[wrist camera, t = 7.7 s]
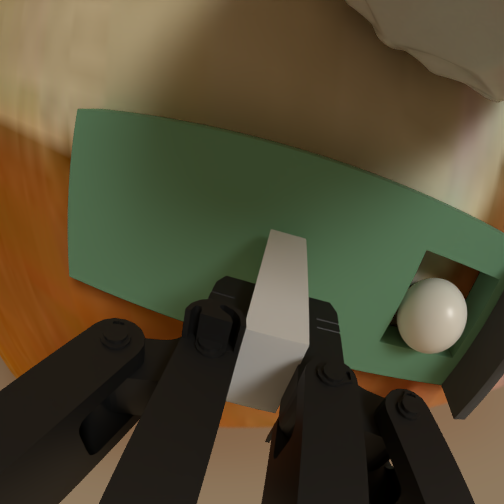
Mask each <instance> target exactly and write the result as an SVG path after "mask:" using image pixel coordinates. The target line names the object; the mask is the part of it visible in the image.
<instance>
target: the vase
mask: <svg viewBox="0 0 504 504" xmlns="http://www.w3.org/2000/svg"><path fill="white" fill-rule="evenodd" d="M345 1H346V3H347V4H348V5H349V6H351V7H352V8H354V9H355V10H356V11H358V12H359V13H360V14H361V15H362V16H364V17H365V18H366V19H367V20H368V21H369V22H370V23H371V24H372V25H373V28H374V31H375V33H376V35H377V36H378V38H379V40H381V41H382V42H383V43H384V44H385V45H387V46H388V47H390V48H393V49H396V50H403V51H406V52H407V53H409V54H410V55H412V56H413V57H415V58H416V59H417V60H418V61H419V62H421V63H422V64H423V65H424V66H425V67H426V68H427V69H428V71H430V72H432V73H433V74H435V75H439V76H443V77H446V78H449V79H453V80H456V81H459V82H462V83H465V84H466V85H468V86H469V87H470V88H472V89H473V90H475V91H476V92H478V93H479V94H480V95H482V96H483V97H485V98H487V99H489V100H492V101H495V102H500V101H504V0H345Z"/></svg>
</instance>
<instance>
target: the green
mask: <svg viewBox="0 0 504 504" xmlns="http://www.w3.org/2000/svg"><path fill="white" fill-rule="evenodd" d="M271 229H273V230H276V231H280V232H284V233H287V234H291V235H294V236H298V237H301V238H305V239H306V244H307V267H308V296H309V297H311V298H314V299H318V300H322V301H326V302H330V303H331V305H332V306H333V308H334V309H335V310H336V312H337V315H338V321H339V324H338V325H339V328H340V333H339V334H340V335H341V342H342V350H343V357H344V364H346V365H347V366H349V367H350V369H354V370H359V371H364V372H369V373H374V374H379V375H384V376H389V377H395V378H400V379H406V380H412V381H418V382H425V383H432V384H439V385H442V388H443V391H444V393H445V396H446V399H447V401H448V404H449V407H450V410H451V413H452V416H453V418H454V419H465V418H466V417H467V416H468V415H469V414H470V413H471V412H472V411H473V410H474V409H475V408H476V407H477V405H478V404H479V403H480V402H481V401H482V400H483V399H484V397H485V396H486V395H487V394H488V393H489V392H490V390H491V389H492V388H493V387H494V386H495V384H496V383H497V382H498V381H499V379H500V378H501V377H502V375H503V374H504V233H503V232H501V231H499V230H498V229H496V228H494V227H492V226H490V225H488V224H486V223H484V222H483V221H481V220H479V219H477V218H475V217H473V216H471V215H469V214H467V213H465V212H463V211H461V210H458V209H456V208H454V207H452V206H450V205H448V204H446V203H444V202H441V201H439V200H437V199H435V198H432V197H430V196H428V195H426V194H423V193H421V192H419V191H416V190H414V189H412V188H409V187H407V186H404V185H402V184H399V183H397V182H394V181H392V180H389V179H387V178H384V177H382V176H379V175H376V174H374V173H371V172H368V171H365V170H363V169H360V168H357V167H354V166H351V165H349V164H346V163H343V162H340V161H337V160H334V159H331V158H328V157H325V156H322V155H318V154H315V153H312V152H309V151H305V150H302V149H299V148H295V147H292V146H288V145H285V144H281V143H278V142H274V141H270V140H267V139H263V138H259V137H255V136H251V135H247V134H243V133H239V132H234V131H230V130H226V129H221V128H217V127H212V126H207V125H202V124H197V123H192V122H187V121H182V120H176V119H171V118H165V117H159V116H152V115H146V114H139V113H131V112H124V111H115V110H106V109H78V110H77V116H76V122H75V129H74V137H73V145H72V154H71V165H70V178H69V196H68V258H69V276H70V277H72V278H74V279H77V280H79V281H81V282H84V283H86V284H88V285H90V286H93V287H95V288H97V289H100V290H102V291H105V292H107V293H109V294H112V295H114V296H117V297H119V298H122V299H124V300H127V301H129V302H132V303H134V304H137V305H139V306H142V307H145V308H147V309H150V310H153V311H155V312H158V313H161V314H164V315H166V316H169V317H172V318H175V319H177V320H180V321H183V322H184V315H185V308H186V307H187V306H189V305H190V304H191V303H192V302H195V301H198V300H202V299H208V297H209V295H210V293H211V292H212V289H213V287H214V285H215V283H216V281H218V280H220V279H221V278H223V277H225V276H230V277H233V278H237V279H240V280H244V281H248V282H251V283H255V284H256V281H257V277H258V274H259V270H260V267H261V263H262V259H263V256H264V252H265V249H266V245H267V241H268V238H269V234H270V231H271ZM426 250H428V251H430V252H433V253H435V254H438V255H441V256H443V257H446V258H448V259H451V260H453V261H456V262H458V263H461V264H463V265H466V266H468V267H471V268H473V269H476V270H478V271H480V273H479V275H478V277H477V279H476V281H475V283H474V285H473V287H472V289H471V291H470V293H469V295H468V296H467V298H466V300H465V302H466V306H467V321H466V325H465V328H464V331H463V333H462V334H461V336H460V338H459V339H458V340H457V341H456V342H455V343H454V344H453V345H452V346H451V347H449V348H448V349H446V350H444V351H442V352H439V353H434V354H425V353H421V352H418V351H416V350H414V349H412V348H411V347H410V346H408V345H407V344H406V343H405V341H404V340H403V338H402V337H401V335H400V332H399V330H398V327H395V326H391V325H389V324H390V322H391V320H392V318H393V316H394V315H395V313H396V311H397V309H398V307H399V305H400V303H401V302H402V300H403V298H404V296H405V294H406V292H407V290H408V288H409V286H410V284H411V282H412V280H413V278H414V276H415V274H416V272H417V270H418V267H419V265H420V263H421V261H422V259H423V257H424V254H425V252H426Z"/></svg>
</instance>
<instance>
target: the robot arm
mask: <svg viewBox="0 0 504 504" xmlns="http://www.w3.org/2000/svg"><path fill="white" fill-rule="evenodd" d="M338 324H339V321H338V315H337V312H336V310H335V309H334V308H333V306H332V305H331V303H330V302H326V301H322V300H318V299H314V298H311V297H309V296H308V267H307V244H306V239H305V238H301V237H298V236H294V235H291V234H287V233H284V232H280V231H276V230H273V229H271V231H270V234H269V238H268V241H267V245H266V249H265V252H264V256H263V259H262V263H261V267H260V270H259V274H258V277H257V281H256V284H255V283H251V282H248V281H244V280H240V279H237V278H233V277H230V276H225V277H223V278H221V279H220V280H218V281H216V283H215V285H214V287H213V289H212V292H211V293H210V295H209V297H208V299H202V300H198V301H195V302H192V303H191V304H190V305H189V306H187V307H186V308H185V315H184V322H183V330H182V337H180V338H178V339H173V340H156V339H146V338H145V336H144V334H143V332H142V330H141V329H140V328H139V327H138V326H137V325H136V324H134V323H132V322H130V321H127V320H125V319H117V318H112V319H104V320H102V321H100V322H98V323H95V324H94V325H92V326H91V327H90V328H88V329H87V330H85V331H84V332H82V333H81V334H79V335H78V336H77V337H75V338H74V339H72V340H71V341H69V342H68V343H66V344H65V345H64V346H62V347H61V348H59V349H58V350H57V351H55V352H54V353H52V354H51V355H49V356H48V357H47V358H45V359H44V360H42V361H41V362H40V363H38V364H37V365H35V366H34V367H33V368H31V369H30V370H28V371H27V372H26V373H24V374H23V375H22V376H20V377H19V378H17V379H16V380H15V381H13V382H12V383H11V384H9V385H8V386H7V387H5V388H4V389H2V390H1V391H0V504H59V503H60V502H61V501H62V500H63V499H64V498H65V497H66V496H67V495H68V494H69V493H70V492H71V491H72V489H74V488H75V486H77V485H78V484H79V483H80V482H81V481H82V479H84V477H85V476H86V475H87V474H88V473H89V472H90V471H91V470H92V469H93V468H94V467H95V466H96V465H97V464H98V463H99V462H100V461H101V460H102V459H103V458H104V457H105V456H106V454H107V453H108V452H109V451H110V450H111V449H112V448H113V447H114V446H115V445H116V444H117V443H118V442H119V441H120V440H121V439H122V438H123V436H124V435H125V434H126V433H127V432H128V431H129V430H130V429H131V428H132V427H133V426H134V425H135V424H136V422H137V421H138V420H139V419H140V420H139V422H138V424H137V426H136V428H135V430H134V432H133V434H132V436H131V438H130V440H129V442H128V444H127V446H126V448H125V450H124V452H123V454H122V456H121V458H120V460H119V462H118V464H117V467H116V469H115V471H114V473H113V475H112V477H111V479H110V481H109V483H108V485H107V487H106V490H105V492H104V494H103V496H102V498H101V500H100V502H99V504H196V503H197V500H198V497H199V493H200V490H201V486H202V483H203V480H204V476H205V473H206V469H207V465H208V462H209V459H210V455H211V452H212V448H213V445H214V441H215V438H216V434H217V430H218V427H219V423H220V420H221V416H222V412H223V409H224V405H225V402H226V401H228V402H232V403H235V404H239V405H243V406H247V407H251V408H255V409H259V410H264V411H268V412H272V413H276V411H277V409H278V407H279V405H280V411H279V417H278V419H277V421H276V422H275V424H274V426H273V428H272V429H271V431H270V433H269V435H268V436H267V439H266V441H265V442H268V443H269V442H270V440H271V445H270V452H269V459H268V466H267V472H266V479H265V485H264V491H263V497H262V503H261V504H475V503H474V501H473V498H472V496H471V494H470V491H469V489H468V487H467V485H466V483H465V480H464V478H463V476H462V474H461V472H460V469H459V467H458V465H457V463H456V461H455V459H454V457H453V455H452V453H451V451H450V449H449V447H448V445H447V443H446V441H445V439H444V437H443V435H442V433H441V431H440V429H439V427H438V425H437V423H436V421H435V420H434V417H433V416H432V414H431V412H430V410H429V408H428V406H427V405H426V403H425V402H424V401H423V399H422V398H421V397H419V396H418V395H417V394H415V393H414V392H411V391H409V390H407V389H396V390H392V391H391V392H390V393H389V394H388V395H387V396H386V397H385V398H383V397H381V396H378V395H376V394H374V393H371V392H369V391H367V390H365V389H363V388H361V387H360V386H358V382H357V379H356V376H355V373H354V372H353V371H352V370H351V369H350V367H349V366H347V365H346V364H344V357H343V350H342V342H341V335H340V334H339V333H340V328H339V325H338ZM389 459H391V461H392V464H393V466H394V467H393V466H391V464H390V462H389Z"/></svg>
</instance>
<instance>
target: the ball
mask: <svg viewBox="0 0 504 504" xmlns="http://www.w3.org/2000/svg"><path fill="white" fill-rule="evenodd" d="M466 321H467V306H466V302H465V299H464V297H463V295H462V293H461V292H460V290H459V289H458V288H457V287H456V286H455V285H454V284H452V283H451V282H449V281H447V280H445V279H441V278H428V279H424V280H421V281H419V282H417V283H415V284H414V285H413V286H411V287H410V288H409V289H408V290H407V292H406V294H405V296H404V298H403V300H402V302H401V303H400V305H399V307H398V311H397V325H398V330H399V332H400V335H401V337H402V338H403V340H404V341H405V343H406V344H407V345H408V346H410V347H411V348H412V349H414V350H416V351H418V352H421V353H425V354H434V353H439V352H442V351H444V350H446V349H448V348H449V347H451V346H452V345H453V344H454V343H455V342H456V341H457V340H458V339H459V338H460V336H461V334H462V333H463V331H464V328H465V325H466Z"/></svg>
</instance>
